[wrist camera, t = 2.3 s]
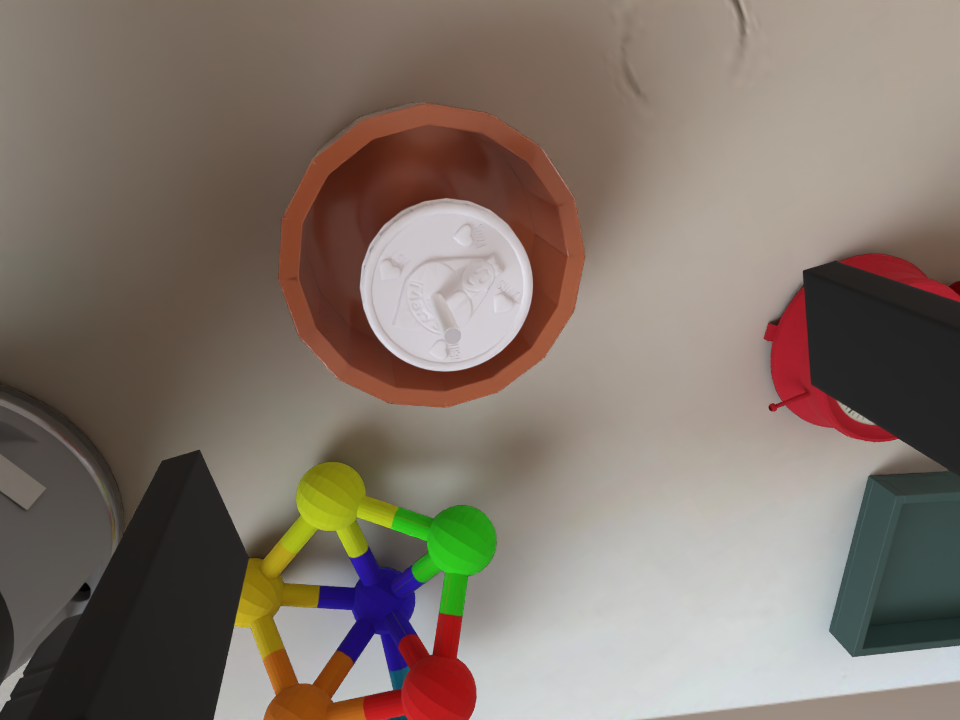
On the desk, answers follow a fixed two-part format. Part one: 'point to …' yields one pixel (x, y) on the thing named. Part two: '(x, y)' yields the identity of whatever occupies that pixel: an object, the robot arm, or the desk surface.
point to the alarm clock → (794, 354)
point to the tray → (902, 567)
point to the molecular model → (370, 604)
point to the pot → (405, 182)
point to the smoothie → (446, 285)
